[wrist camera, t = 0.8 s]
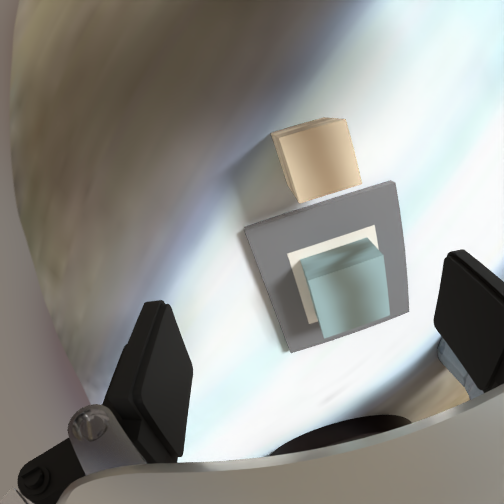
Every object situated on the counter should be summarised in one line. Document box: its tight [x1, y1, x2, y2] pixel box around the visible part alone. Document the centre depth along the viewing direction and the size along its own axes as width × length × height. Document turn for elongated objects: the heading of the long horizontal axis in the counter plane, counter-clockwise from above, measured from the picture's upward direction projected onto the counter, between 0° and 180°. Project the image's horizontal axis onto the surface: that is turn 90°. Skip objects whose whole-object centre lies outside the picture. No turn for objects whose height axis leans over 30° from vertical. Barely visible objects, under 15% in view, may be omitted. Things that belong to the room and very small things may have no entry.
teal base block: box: [300, 237, 390, 339], centre depth 29 cm, size 7×7×4 cm
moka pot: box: [438, 337, 484, 400], centre depth 29 cm, size 10×15×20 cm, turn 63°
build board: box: [244, 181, 409, 353], centre depth 31 cm, size 15×16×1 cm
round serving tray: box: [270, 415, 412, 456], centre depth 49 cm, size 31×4×31 cm
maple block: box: [271, 117, 362, 203], centre depth 24 cm, size 5×5×6 cm
